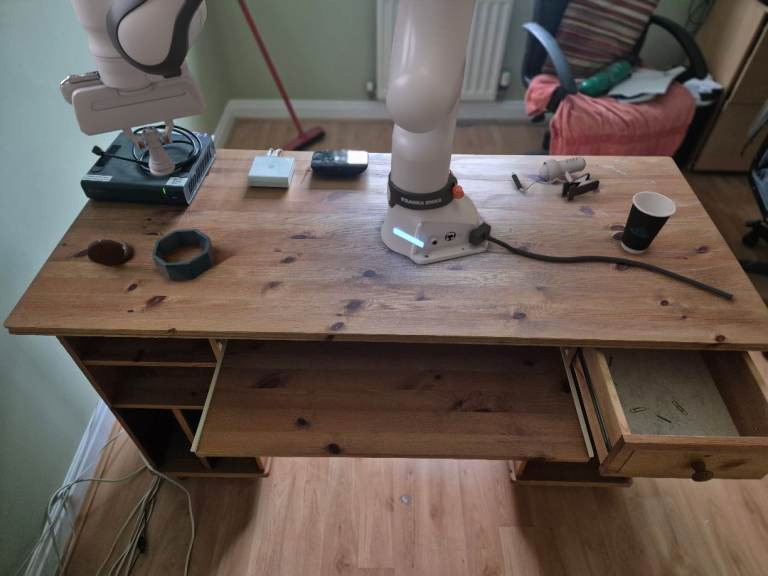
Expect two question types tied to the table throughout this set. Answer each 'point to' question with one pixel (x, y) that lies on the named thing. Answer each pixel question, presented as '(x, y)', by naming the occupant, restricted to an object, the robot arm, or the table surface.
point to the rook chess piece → (157, 153)
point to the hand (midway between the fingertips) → (155, 145)
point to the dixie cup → (646, 220)
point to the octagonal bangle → (183, 268)
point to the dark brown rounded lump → (108, 252)
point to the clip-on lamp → (566, 167)
